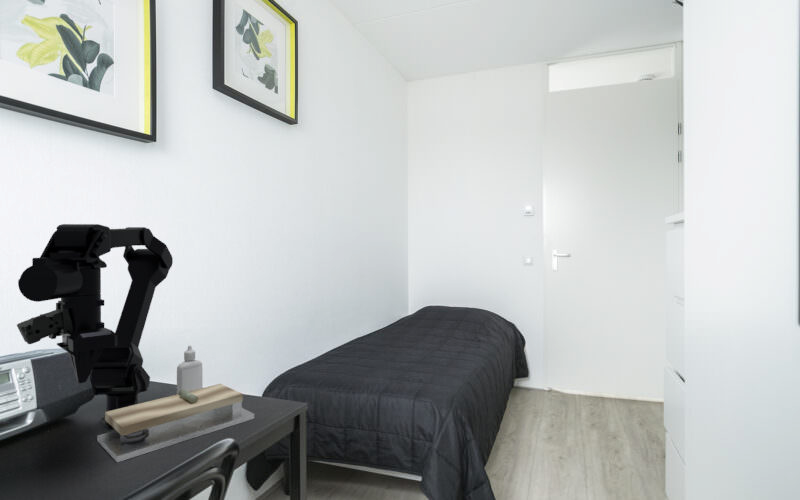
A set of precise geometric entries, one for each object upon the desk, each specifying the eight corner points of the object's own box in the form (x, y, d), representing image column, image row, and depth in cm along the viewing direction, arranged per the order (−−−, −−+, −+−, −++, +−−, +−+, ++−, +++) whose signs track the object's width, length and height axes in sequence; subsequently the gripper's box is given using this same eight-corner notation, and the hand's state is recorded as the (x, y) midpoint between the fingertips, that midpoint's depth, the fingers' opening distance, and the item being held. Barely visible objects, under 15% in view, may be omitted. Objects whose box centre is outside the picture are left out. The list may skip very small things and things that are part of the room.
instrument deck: (105, 420, 81) (104, 404, 81) (220, 390, 97) (220, 377, 97) (121, 435, 74) (121, 418, 74) (242, 400, 90) (242, 387, 90)
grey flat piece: (97, 441, 81) (97, 420, 81) (227, 404, 99) (227, 388, 99) (116, 462, 73) (116, 439, 73) (254, 418, 91) (254, 400, 91)
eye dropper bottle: (202, 396, 105) (202, 346, 105) (176, 399, 103) (176, 349, 103) (202, 390, 109) (202, 343, 109) (177, 394, 107) (177, 345, 107)
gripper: (12, 294, 77) (12, 382, 77) (33, 303, 65) (33, 407, 65) (87, 290, 86) (87, 369, 86) (118, 297, 73) (118, 389, 73)
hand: (81, 382), depth 77 cm, fingers closed
